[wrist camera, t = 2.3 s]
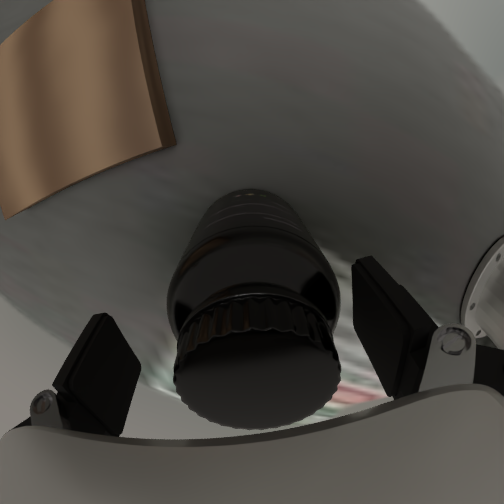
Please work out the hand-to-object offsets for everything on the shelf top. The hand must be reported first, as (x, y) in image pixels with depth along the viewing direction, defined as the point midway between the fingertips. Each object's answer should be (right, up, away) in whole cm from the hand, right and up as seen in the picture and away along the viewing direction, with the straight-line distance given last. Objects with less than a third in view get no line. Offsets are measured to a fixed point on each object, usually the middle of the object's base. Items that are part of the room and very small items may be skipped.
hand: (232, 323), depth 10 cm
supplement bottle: (+1, +4, +8) cm, 9 cm away
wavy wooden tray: (-12, +14, +3) cm, 19 cm away
